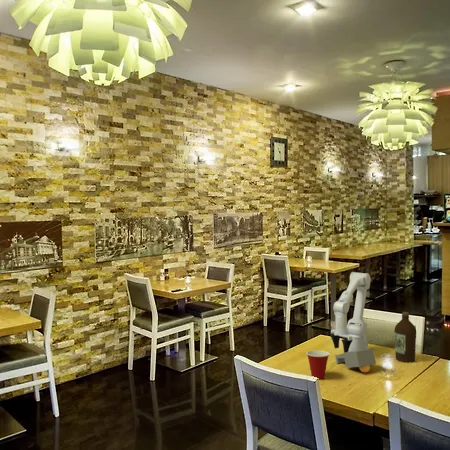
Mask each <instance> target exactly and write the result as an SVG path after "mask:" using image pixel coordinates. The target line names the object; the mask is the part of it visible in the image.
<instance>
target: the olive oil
mask: <svg viewBox="0 0 450 450" xmlns="http://www.w3.org/2000/svg"><path fill="white" fill-rule="evenodd" d="M401 313H402V314H401V320H399V322H397V323H396V324H395V327H394V332H393V333H394V347H395V349H394V351H395V360H396V361H398V362H401V363H406V362H407V364H408V363H409V362H411V363H414V362H415V361H416V344H417V329H416V326H415V325H414V323H412V322H411V321H410V315H409V314H410V313H409V312H407V311H402V312H401ZM409 364H410V363H409Z"/></svg>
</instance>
